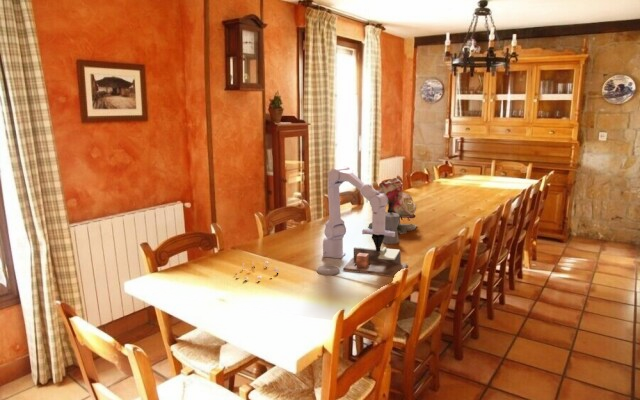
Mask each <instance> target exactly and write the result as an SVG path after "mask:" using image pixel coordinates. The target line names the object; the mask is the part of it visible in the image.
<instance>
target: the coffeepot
mask: <svg viewBox="0 0 640 400" xmlns="http://www.w3.org/2000/svg"><path fill="white" fill-rule="evenodd" d="M389 211H390V213H387V212H388V211H387V212H386V211H385V230H387V231H393V232H395V237H392V236H385V237H384V239H383V242H382V244H385V245H396V244H399V242H400V239H399V233H398V231H397V227H398V223H399V219H400V220H401V217H400V215H399V214H397V213H392V209H390V210H389Z"/></svg>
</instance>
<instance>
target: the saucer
mask: <svg viewBox="0 0 640 400" xmlns="http://www.w3.org/2000/svg"><path fill="white" fill-rule="evenodd" d="M316 270H317V271H316V272H317V273H318V274H319V273H320V274H319V275H322V274H323V276H334V275H337V274H339V273H340V272H341V269H340V267H338V266H337V265H332V264H331V265H329V264H326V265H321V266H318V268H317V269H316Z"/></svg>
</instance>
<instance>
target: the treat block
mask: <svg viewBox="0 0 640 400" xmlns="http://www.w3.org/2000/svg"><path fill="white" fill-rule="evenodd" d="M356 266H357V267H366V268H368V267H369V254H367V253H359V254H358V255H357V265H356Z"/></svg>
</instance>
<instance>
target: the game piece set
mask: <svg viewBox="0 0 640 400" xmlns="http://www.w3.org/2000/svg"><path fill="white" fill-rule="evenodd" d="M253 265H255V264H254V262H253V261H252V266H253ZM265 265H268V266H269V265H270V264H269V261H267V260H266V261H265V262H264V266H265ZM243 267H244V268H245V263H244V262H242V268H243ZM274 269H275V270H274V272H275V273H276V272H278V273H279V268H278V267H276V268H274ZM235 270H236V271H237V270H238V271H239V268H235ZM238 275H239V273H238V274H237V273H236V276H238ZM256 278H257V280H258V279H260V280H261V279H262V275H257V277H256ZM244 279H249V277H247V276H246V275H245V276H244V278H243V280H244Z"/></svg>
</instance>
